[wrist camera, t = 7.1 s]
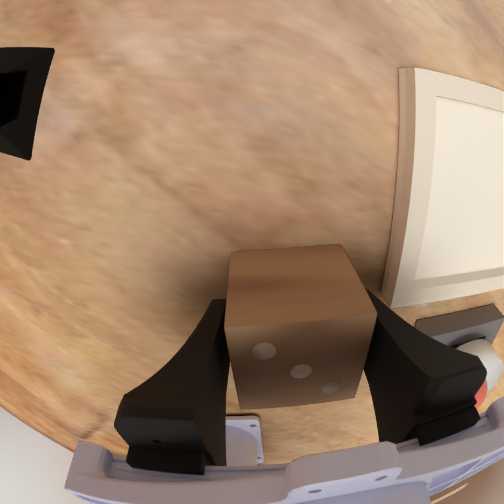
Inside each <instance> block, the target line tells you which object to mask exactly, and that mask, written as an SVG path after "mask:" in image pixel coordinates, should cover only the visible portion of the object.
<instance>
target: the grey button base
mask: <svg viewBox="0 0 504 504" xmlns="http://www.w3.org/2000/svg"><path fill="white" fill-rule="evenodd" d="M503 321H504V316H503V314H502V313H501V312H500V311H499V310H498V308H497V307H496V306H495V305H494V304H490V305H486V306H482V307H477V308H473V309H469V310H464V311H460V312H455V313H450V314H446V315H441V316H436V317H431V318H425V319H420V320H417V321H416V324H415V327H414V328H416V329H418V330H419V331H421V332H422V333H424V334H426V335H427V336H429V337H431V338H433V339H435V340H437V341H439V342H441V343H443V344H445V345H447V346H452V345H456V344H460V345H463V344H465V343H468V342H470V341H473V340H477V339H485V340H487V341H488V342H489V343H490V344H491V345H492V343H493V341H494V339H495V337H496V335H497V333H498V331H499V329H500V327H501V325H502V323H503Z"/></svg>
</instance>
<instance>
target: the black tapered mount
mask: <svg viewBox="0 0 504 504" xmlns="http://www.w3.org/2000/svg"><path fill="white" fill-rule="evenodd" d="M54 52H55V50H54V48H41V47H5V48H0V152H2V153H5V154H8V155H12V156H15V157H18V158H22V159H25V160H30V159H31V156H32V149H33V142H34V136H35V130H36V124H37V119H38V114H39V109H40V104H41V100H42V95H43V91H44V87H45V83H46V79H47V76H48V72H49V69H50V65H51V62H52V59H53V55H54Z"/></svg>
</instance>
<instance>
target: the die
mask: <svg viewBox="0 0 504 504" xmlns="http://www.w3.org/2000/svg"><path fill="white" fill-rule="evenodd" d="M376 317H377V311H376V309H375V307H374V305H373V303H372V301H371V300H370V298H369V296H368V294H367V292H366V290H365V288H364V286H363V284H362V282H361V280H360V278H359V277H358V275H357V273H356V271H355V269H354V267H353V265H352V264H351V262H350V260H349V258H348V256H347V255H346V253H345V251H344V249H343V247H342V246H341V244H333V245H319V246H305V247H291V248H277V249H264V250H250V251H236V252H231V256H230V267H229V278H228V289H227V300H226V312H225V324H224V329H225V335H226V340H227V345H228V351H229V356H230V361H231V366H232V371H233V377H234V382H235V387H236V391H237V396H238V401H239V406H240V409H262V408H276V407H288V406H299V405H308V404H316V403H324V402H331V401H338V400H344V399H350V398H355V395H356V392H357V388H358V385H359V382H360V379H361V375H362V372H363V368H364V365H365V361H366V358H367V354H368V350H369V346H370V342H371V338H372V334H373V330H374V326H375V322H376Z"/></svg>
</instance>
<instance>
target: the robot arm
mask: <svg viewBox="0 0 504 504" xmlns="http://www.w3.org/2000/svg"><path fill="white" fill-rule="evenodd" d="M365 290H366V292H367V294H368V296H369V298H370V300H371V301H372V303H373V305H374V307H375V309H376V311H377V317H376V322H375V326H374V330H373V334H372V338H371V342H370V346H369V350H368V354H367V358H366V361H365V365H364V368H363V369H364V372H365V375H366V377H367V380H368V383H369V387H370V391H371V396H372V400H373V405H374V410H375V415H376V421H377V428H378V435H379V442H378V443H373V444H368V445H363V446H359V447H354V448H348V449H343V450H337V451H331V452H324V453H317V454H312V455H307V456H303V457H300V458H298V459H295V460H293V461H292V462H290V463H288V464H276V465H259V466H257V463H262V462H264V455H263V446H262V437H261V429H260V420H259V417H257V416H226V390H227V382H228V374H229V367H230V356H229V351H228V345H227V340H226V335H225V329H224V324H225V312H226V299H215V300H212V301H211V302H210V304H209V306H208V308H207V310H206V312H205V314H204V316H203V317H202V319H201V321H200V322H199V324H198V325H197V327H196V328H195V330H194V331H193V333H192V334H191V336H190V337H189V338H188V340H187V341H186V342H185V344H184V345H183V346H182V347H181V349H180V350H179V351H178V352H177V353H176V354H175V355H174V357H173V358H172V359H171V360H170V361H169V362H168V363H167V364H166V365H165V366H164V367H162V368H161V369H160V370H159V371H158V372H157V373H155V374H154V375H153V376H152V377H150V378H149V379H148V380H147V381H145V382H144V383H142V384H141V385H139V386H138V387H136V388H135V389H133V390H131V391H130V392H128V393H126V394H125V395H124V396H123V399H122V401H121V403H120V405H119V408H118V411H117V414H116V418H115V421H114V427H115V429H116V430H117V432H118V433H119V434H120V436H121V437H122V438H123V439H124V440H125V441H126V443H127V444H128V445H129V450H128V454H127V458H125V457H120V456H114V455H112V453H111V452H110V451H109V450H108V449H106V448H105V447H102V446H99V445H95V444H90V443H86V442H81V441H79V442H78V443H77V446H76V449H75V453H74V456H73V459H72V463H71V466H70V470H69V473H68V477H67V480H66V484H65V490H66V491H68V492H69V493H71V494H72V495H74V496H76V497H77V498H79V499H81V500H83V501H85V502H86V503H88V504H431V502H430V499H429V496H430V495H433V494H435V493H437V492H439V491H442V490H444V489H446V488H448V487H450V486H452V485H454V484H456V483H458V482H460V481H462V480H464V479H466V478H468V477H470V476H472V475H473V474H475V473H477V472H479V471H481V470H483V469H484V468H486V467H488V466H490V465H491V464H493V463H495V462H496V461H498V460H500V459H501V458H503V457H504V396H503V397H501V398H499V399H497V400H496V401H494V402H493V403H492V404H491V405H490V406H489V407H488V409H487V410H486V412H484V413H482V414H480V415H479V413H478V411H477V409H476V407H475V405H476V404H477V400H476V398H475V395H476V393H477V392H478V390H479V389H480V387H481V386H482V384H483V383H484V381H485V379H486V376H487V370H486V368H485V366H484V365H483V363H482V361H481V360H480V358H479V357H478V356H476V355H473V354H470V353H466V352H463V351H460V350H457V349H455V348H452V347H450V346H447V345H445V344H443V343H441V342H439V341H437V340H435V339H433V338H431V337H429V336H427V335H426V334H424V333H422V332H421V331H419V330H418V329H416V328H414V327H413V326H411V325H410V324H409V323H407V322H406V321H405V320H403V319H402V318H401V317H399V316H398V315H397V314H395V313H394V312H393V311H392V310H391V309H389V308H388V307H387V306H386V305H385V304H384V303H382V302H381V301H380V300H379V299H378V298H377V297H376V296H374V295H373V294H372V293H371V292H370V291H369V290H367V289H366V288H365Z"/></svg>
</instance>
